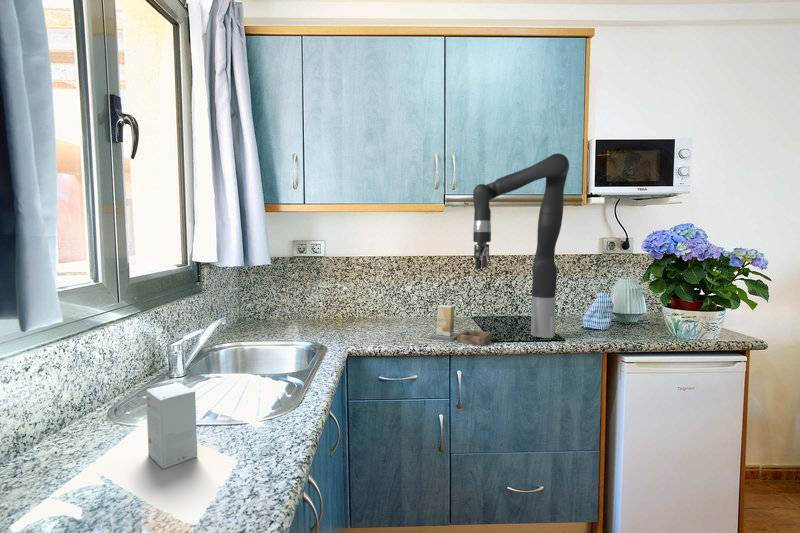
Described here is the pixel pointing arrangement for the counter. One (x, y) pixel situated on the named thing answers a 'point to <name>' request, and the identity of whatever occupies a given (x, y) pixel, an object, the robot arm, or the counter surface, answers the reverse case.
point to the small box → (171, 424)
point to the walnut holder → (474, 337)
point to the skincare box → (445, 320)
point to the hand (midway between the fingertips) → (481, 268)
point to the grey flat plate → (444, 337)
